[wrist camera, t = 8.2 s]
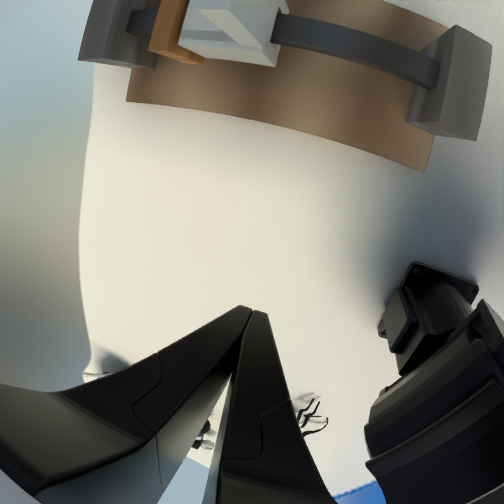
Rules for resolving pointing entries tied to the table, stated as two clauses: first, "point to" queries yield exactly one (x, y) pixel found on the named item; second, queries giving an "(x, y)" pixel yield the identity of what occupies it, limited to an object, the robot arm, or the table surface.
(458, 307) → the robot arm
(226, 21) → the white l-bracket
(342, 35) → the rail board
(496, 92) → the table surface
